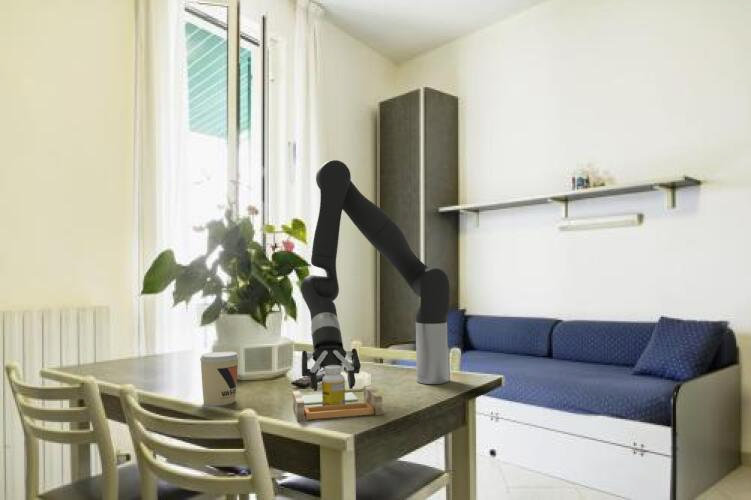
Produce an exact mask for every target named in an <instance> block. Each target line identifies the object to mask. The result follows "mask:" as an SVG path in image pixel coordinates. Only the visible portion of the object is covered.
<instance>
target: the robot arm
mask: <svg viewBox="0 0 751 500" xmlns="http://www.w3.org/2000/svg"><path fill="white" fill-rule="evenodd" d="M318 168H319V169H318V170H317V172H316V175H315V182H316V185H317V187H318V188H319V191H320V193H319V194H320V203H319V204H320V205H319V212H318V217H317V221H316V226H315V231H314V235H313V242H312V249H311V258H310V264H311V265H312V266H313V267H316V268H320V269H322V270H324V272H325V274H326V276H323V275H314V274H313V275H306V276H305V277H304V278H303V279H302V282H301V285H300V293H301V295H302V299H303V301H304V302H305V304H306V306H307V308H308V310H309V312H310V313H309V314H310V321H311V326H310V331H311V340H312V341H311V342H312V349H313V352H308V351H306V350H303V351H302V352H301V377H303V378H305V377H308V378H309V384H310V388H311V390H313V391H314V392H317V391H318V388H319V387H318V378H317V374H319V372H321V370H322V369H323V370H325V366H329V365H339V366H341V370H342V371H341V372H344V373H345V374H346V375H347V376H346V377H347V383H348V389H349V390H353V387H355V385H356V377H355V375H356V374H360V370H361V367H362V366H361V363H360V359H359V358H360V357H359V354H358V351H357V348H352V349H351V350H348V351H346V350H345V348H344V343H343V337H342V333H341V326H340V322H339V319H338V313H337V308H336V304H335V303H334V301H335V300H336V299H337V297H338V296H339V293H340V288H339V287H340V286H339V279H338V274H337V273H338V272H337V257H338V255H337V254H338V248H339V247H338V246H339V239H340V238H339V237H340V227H341V219H342V213H343V212H344V213H345V214H346V215H347V217H348V218H349V220H350V221H351V222H352V223H353V224H354V225H355V227H356V228H357V229H358V231H360V233H361V234H362V235H363V236H364V238H365V239H366V240H367V241H368V242H369V243H370V244H371V245H372V246H373V248H375V250H377V251H378V252H379V254H380V255H382V257H383V258H384V259H385V260H386V261H387V262H388V263H389V264H390V265H392V267H393V268H394V269H395V270H396V271H398V273H399V274H400V275H401V277H402V278H403V280H404V281H405V282H406V284H407V285H408V286H409V288H410V289H411V290H412V292H413V293H414V294H415V295H416V296H418V297H419V298H420V299H419V302H420V303H419V308H418V310H417V312H416V313H415V345H416V346H415V351H416V355H415V357H416V361H415V363H416V382H417V383H421V384H423V385H424V384H427V385H440V384H441V385H442V384H446V383H448V382H449V381H450V380H451V359H450V357H451V356H450V354H451V352H450V351H451V350H450V348H449V347H448V346H449V345H448V315H449V313H450V297H451V296H450V295H451V293H450V292H451V291H450V288H451V287H450V280H449V276H448V275H447V273H446V272H445V271H444V270H443V269H441V268H437V267H430V268H429V267H428V266H427V265H426V264H425V263H423V262H422V260H421V259H419V258H418V257H417V255H416V254H415V252H414V251H413V250H412V249H411V247H410V245H409V242H408V240H407V239H406V236H405V235H404V234H405V233H403V231H402V229H401V228H400V226H398V224H396V222H395V221H394V219H392V218H391V217H390V215H388V214H387V213H386V212H385V211H384V210H383V209H381V208H380V207H379V206H377V204H375V203H373V202H372V201H371V200H369V198H367V197H366V196H364V194H362V192H360V190H359V189H358V188H357V187H356V186H355V184H354V183H353V182H352V180H351V179H352V177H351V170H350V169H349V167H348V166H347V165H346V164H345V163H344V161H341V160H338V159H333V160H329V161H327V162H325V163H323V164H322V165H321V166H320V167H318ZM346 357H348V359H349V361H351V363H349V361H348V360H347V359H346ZM311 359H312V360H313V361H314V364H313V366H312V367H311V368H308V363H309V362H310V361H311ZM351 364H352V365H351Z"/></svg>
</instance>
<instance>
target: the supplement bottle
mask: <svg viewBox="0 0 751 500" xmlns="http://www.w3.org/2000/svg"><path fill="white" fill-rule="evenodd" d="M342 372H343V371H342V370H341V366H339V365H329V366H325V369H324V373H325V375H324V376H322V378H321V384H322V385H321V387H322V388H321V389H322V390H321V391H322V393H321V394H322V403H321V405H322V406H328V405H341V404H346V402H345V393H346V389H345V387H346V382H345V381H346V379H345V376H344V375H343V374H341V373H342Z"/></svg>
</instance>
